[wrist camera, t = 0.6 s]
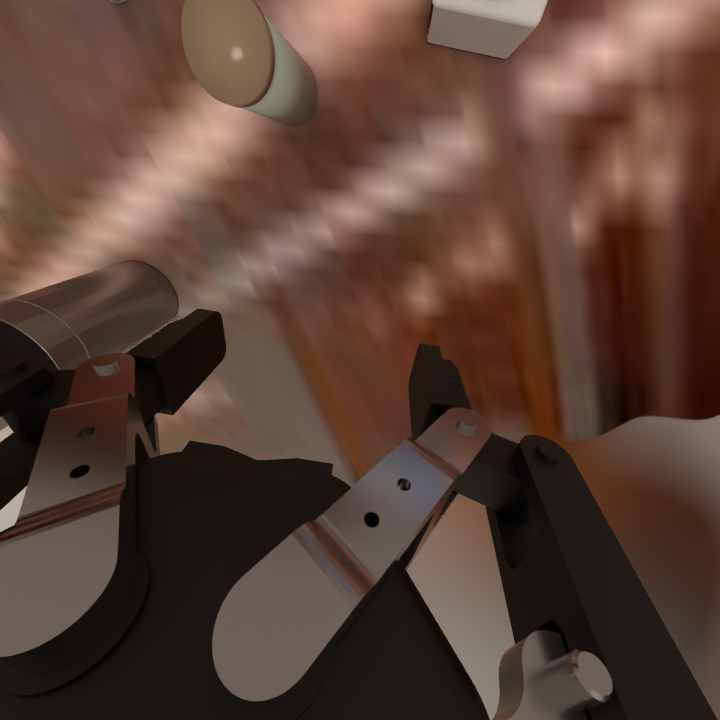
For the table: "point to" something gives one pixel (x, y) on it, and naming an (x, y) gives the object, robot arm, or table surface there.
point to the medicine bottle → (483, 24)
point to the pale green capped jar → (247, 60)
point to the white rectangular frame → (118, 1)
